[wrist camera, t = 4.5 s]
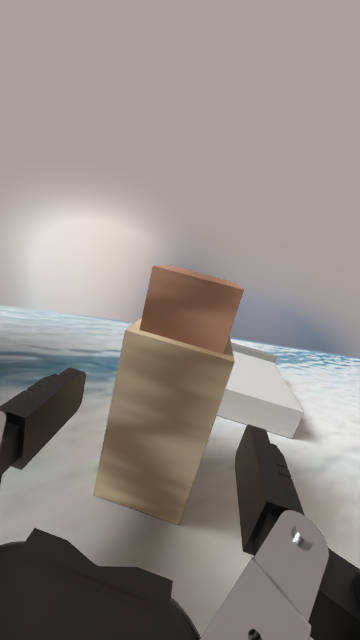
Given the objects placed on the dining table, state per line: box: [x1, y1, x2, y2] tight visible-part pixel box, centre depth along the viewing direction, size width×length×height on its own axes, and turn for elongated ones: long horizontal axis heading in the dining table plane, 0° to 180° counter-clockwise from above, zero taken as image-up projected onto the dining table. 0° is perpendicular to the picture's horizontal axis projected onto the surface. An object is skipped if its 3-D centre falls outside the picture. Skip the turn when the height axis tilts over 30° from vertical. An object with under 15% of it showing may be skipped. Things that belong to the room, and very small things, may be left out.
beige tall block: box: [93, 265, 244, 525], centre depth 13 cm, size 5×5×13 cm
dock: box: [217, 343, 304, 438], centre depth 28 cm, size 14×12×4 cm
